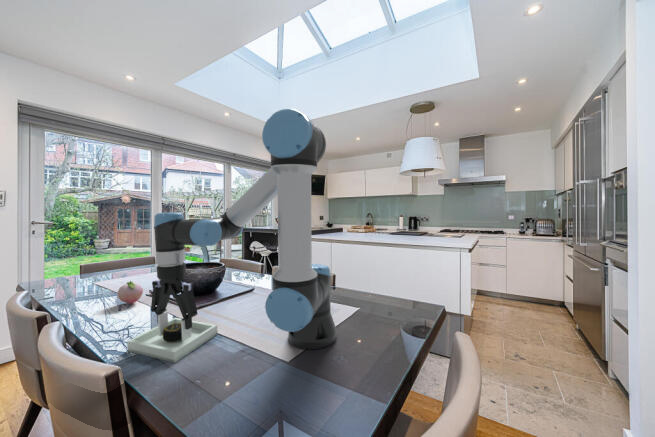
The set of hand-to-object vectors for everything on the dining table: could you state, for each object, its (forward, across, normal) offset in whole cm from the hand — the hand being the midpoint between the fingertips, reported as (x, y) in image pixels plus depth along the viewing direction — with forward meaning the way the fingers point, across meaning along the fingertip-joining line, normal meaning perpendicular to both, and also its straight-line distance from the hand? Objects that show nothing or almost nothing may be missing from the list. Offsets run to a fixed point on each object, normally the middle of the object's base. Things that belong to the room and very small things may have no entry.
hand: (175, 336), depth 81 cm
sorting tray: (+2, 0, 0) cm, 2 cm away
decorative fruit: (+2, +44, -17) cm, 47 cm away
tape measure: (+1, 0, -1) cm, 2 cm away
